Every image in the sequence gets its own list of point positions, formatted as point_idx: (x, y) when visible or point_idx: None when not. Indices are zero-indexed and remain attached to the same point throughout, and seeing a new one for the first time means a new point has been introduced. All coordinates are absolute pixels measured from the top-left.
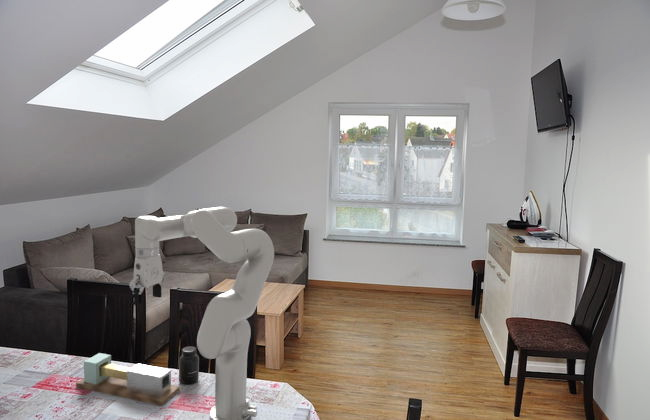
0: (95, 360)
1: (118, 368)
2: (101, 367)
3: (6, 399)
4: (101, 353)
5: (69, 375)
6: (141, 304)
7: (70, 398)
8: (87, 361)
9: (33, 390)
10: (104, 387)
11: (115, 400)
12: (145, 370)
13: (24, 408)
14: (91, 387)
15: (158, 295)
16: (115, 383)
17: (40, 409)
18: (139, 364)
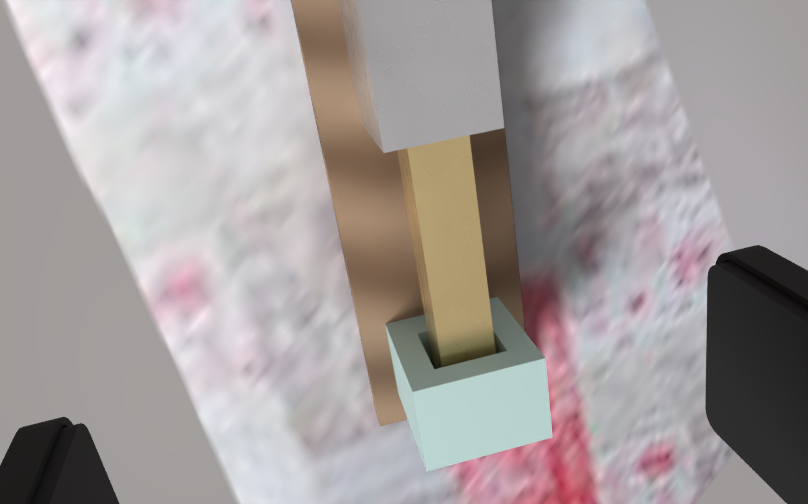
0: (515, 396)
1: (460, 240)
2: (492, 339)
3: (704, 488)
4: (425, 455)
5: (456, 498)
6: (769, 265)
7: (606, 302)
8: (545, 419)
9: (617, 482)
10: (500, 234)
11: (531, 97)
12: (442, 6)
13: None
14: (520, 296)
15: (86, 480)
16: None
17: None
18: (391, 130)
